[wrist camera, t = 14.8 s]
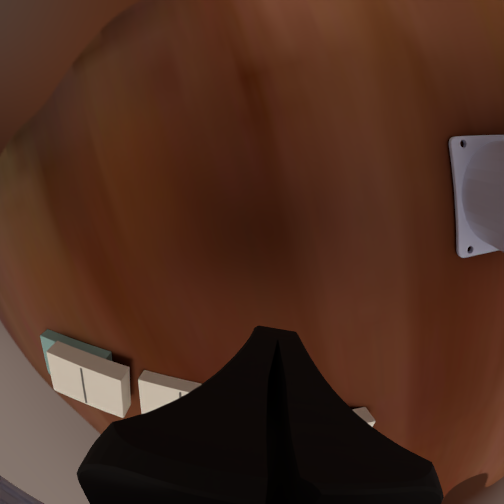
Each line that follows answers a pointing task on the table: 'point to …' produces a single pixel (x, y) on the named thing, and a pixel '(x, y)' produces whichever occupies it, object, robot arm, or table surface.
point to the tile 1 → (51, 337)
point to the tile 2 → (90, 378)
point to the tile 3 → (161, 390)
